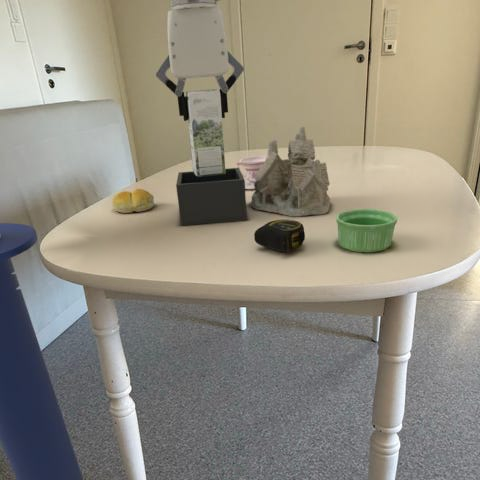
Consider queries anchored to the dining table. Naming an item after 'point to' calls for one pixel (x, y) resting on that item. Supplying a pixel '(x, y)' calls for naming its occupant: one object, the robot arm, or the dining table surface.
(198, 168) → the syrup box
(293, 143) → the ceramic cottage
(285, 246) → the tape measure
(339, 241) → the ramekin
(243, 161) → the pink white round vessel
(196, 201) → the bin
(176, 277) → the dining table surface
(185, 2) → the robot arm
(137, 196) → the bread roll
